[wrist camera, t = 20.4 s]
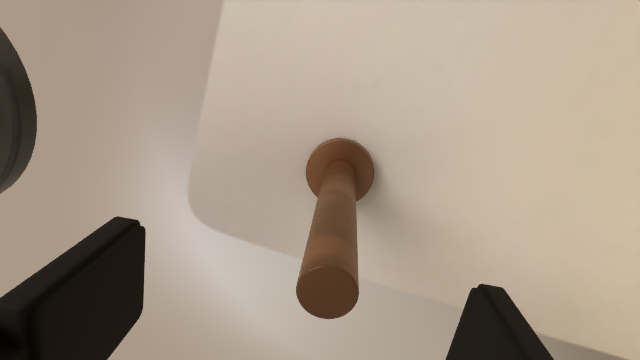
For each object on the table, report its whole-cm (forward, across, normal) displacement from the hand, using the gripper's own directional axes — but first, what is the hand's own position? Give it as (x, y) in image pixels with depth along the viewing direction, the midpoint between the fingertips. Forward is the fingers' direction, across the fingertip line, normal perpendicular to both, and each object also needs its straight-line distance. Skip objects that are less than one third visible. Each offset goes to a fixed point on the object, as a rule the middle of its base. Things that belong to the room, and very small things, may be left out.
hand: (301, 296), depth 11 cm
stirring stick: (+15, -1, 0) cm, 15 cm away
